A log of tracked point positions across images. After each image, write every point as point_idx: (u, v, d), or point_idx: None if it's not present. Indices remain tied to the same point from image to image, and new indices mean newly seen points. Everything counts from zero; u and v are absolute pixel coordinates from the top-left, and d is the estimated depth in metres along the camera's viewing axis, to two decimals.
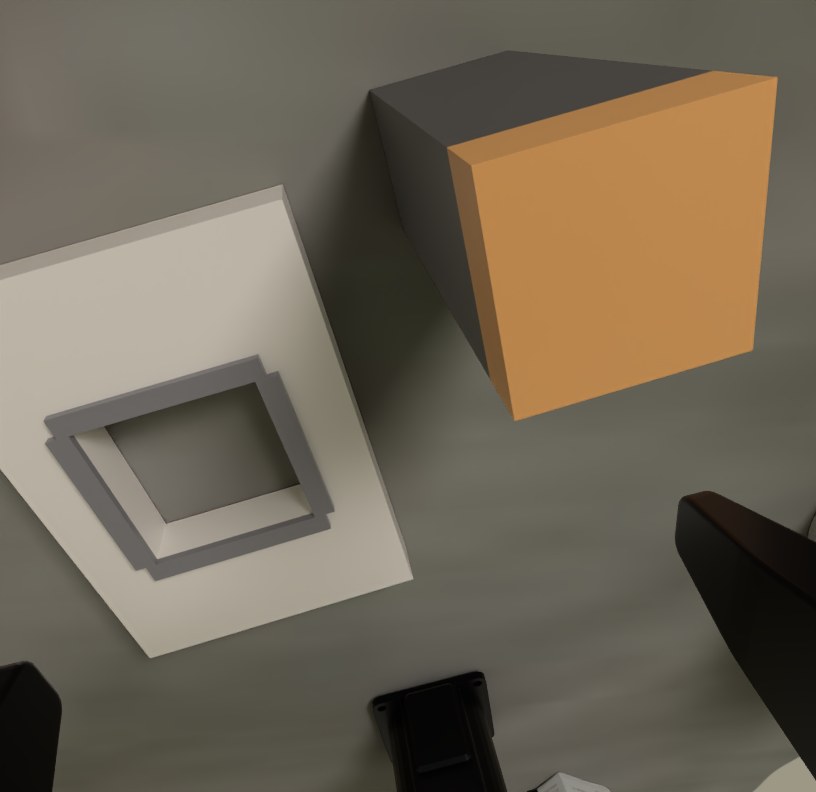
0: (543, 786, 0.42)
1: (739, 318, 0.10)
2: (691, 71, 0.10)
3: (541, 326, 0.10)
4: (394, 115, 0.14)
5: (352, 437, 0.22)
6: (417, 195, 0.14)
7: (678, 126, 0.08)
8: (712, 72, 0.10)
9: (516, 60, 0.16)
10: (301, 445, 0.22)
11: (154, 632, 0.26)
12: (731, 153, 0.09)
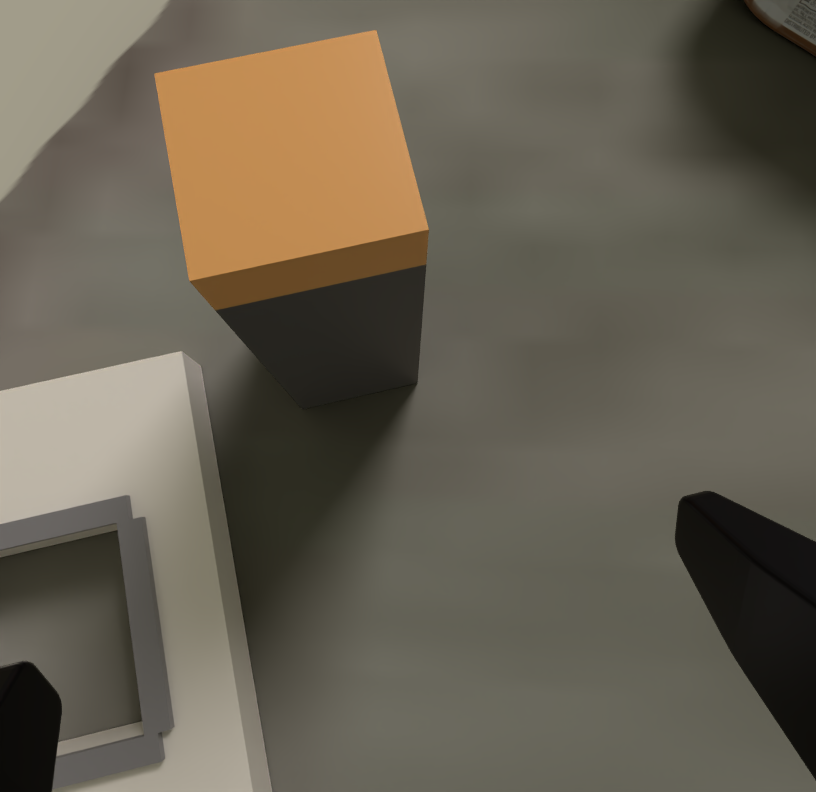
0: None
1: (403, 197, 0.11)
2: None
3: (212, 190, 0.11)
4: None
5: (211, 614, 0.19)
6: None
7: (307, 55, 0.12)
8: None
9: None
10: (148, 613, 0.19)
11: None
12: (354, 72, 0.12)
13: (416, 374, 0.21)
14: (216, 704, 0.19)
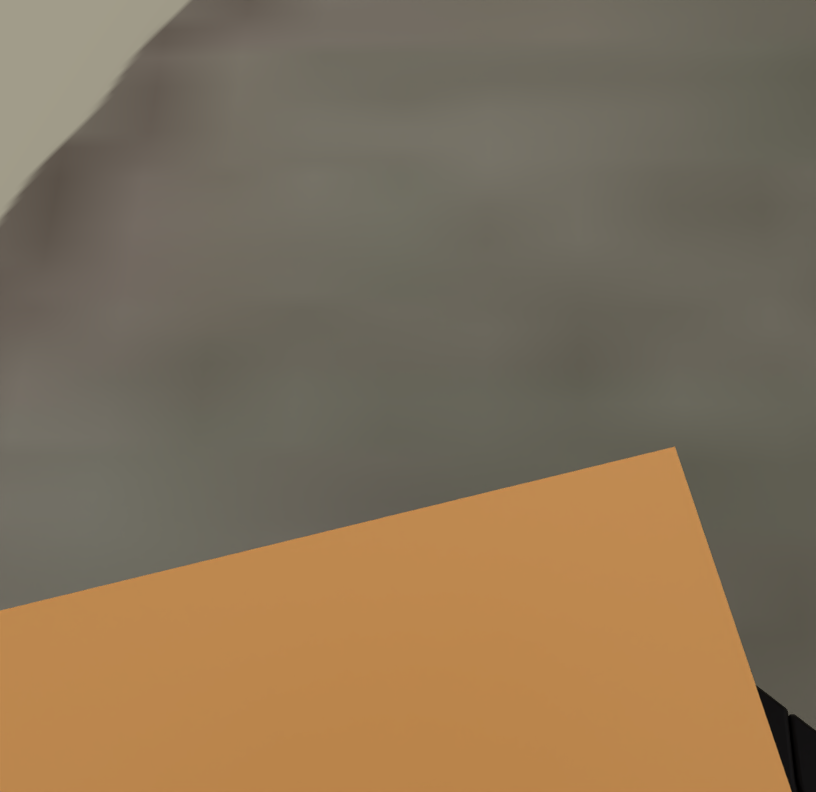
0: None
1: None
2: None
3: None
4: None
5: None
6: None
7: (435, 557, 0.03)
8: None
9: None
10: None
11: None
12: (615, 633, 0.03)
13: None
14: None
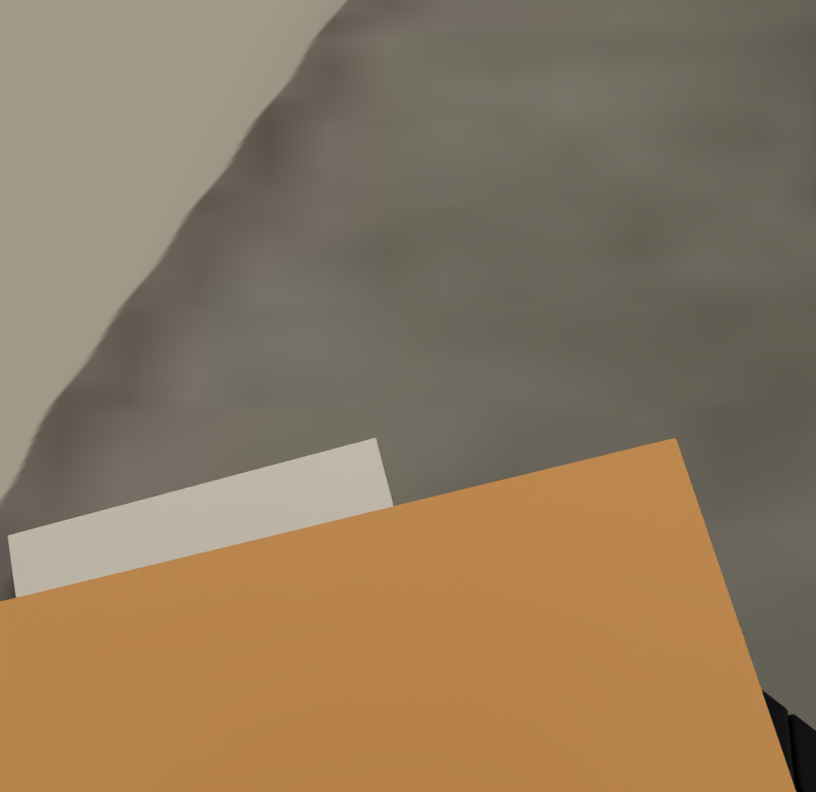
0: None
1: None
2: None
3: None
4: None
5: None
6: None
7: (437, 548, 0.03)
8: None
9: None
10: None
11: None
12: (616, 623, 0.03)
13: None
14: None
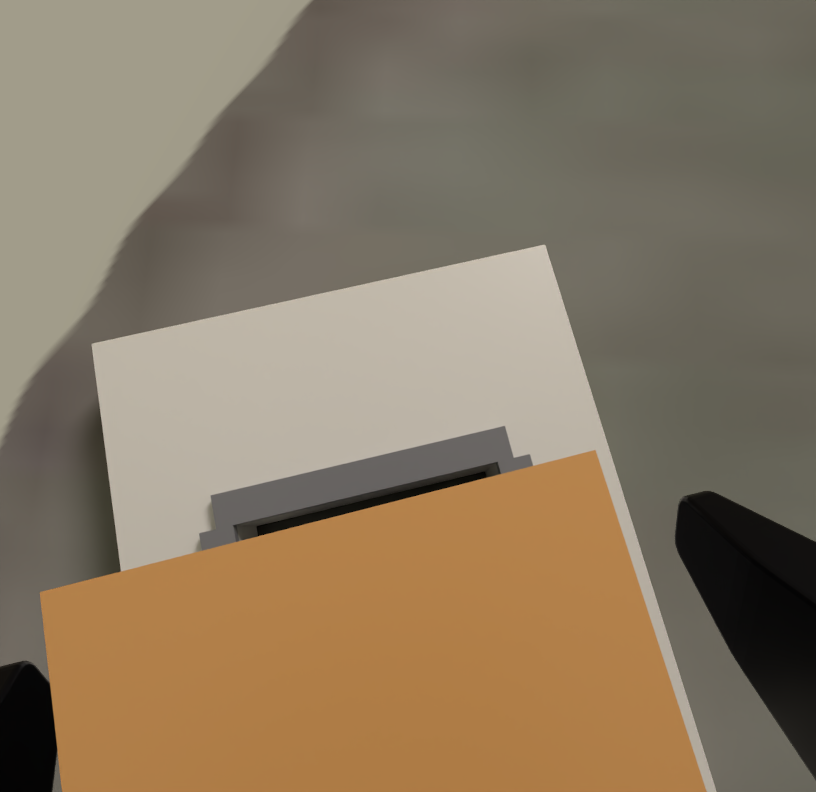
0: None
1: None
2: None
3: None
4: None
5: None
6: None
7: (431, 528, 0.05)
8: None
9: None
10: None
11: None
12: (553, 577, 0.05)
13: None
14: None
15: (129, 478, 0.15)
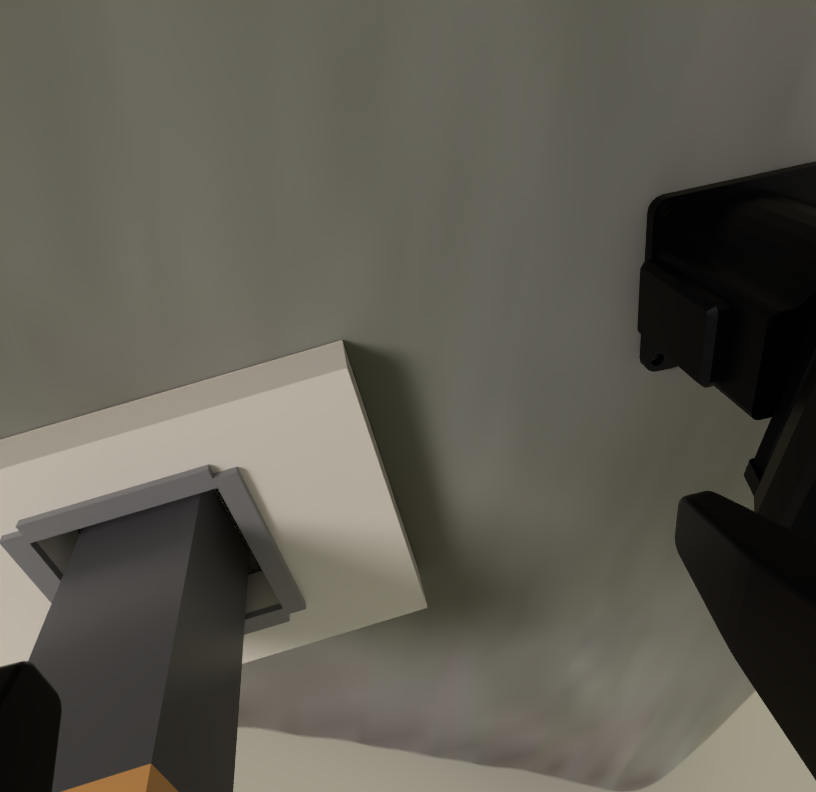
0: None
1: None
2: None
3: None
4: None
5: (97, 452, 0.19)
6: None
7: None
8: None
9: None
10: (108, 504, 0.20)
11: (388, 604, 0.25)
12: None
13: (200, 499, 0.21)
14: (182, 435, 0.19)
15: None
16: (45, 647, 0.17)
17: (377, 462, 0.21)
